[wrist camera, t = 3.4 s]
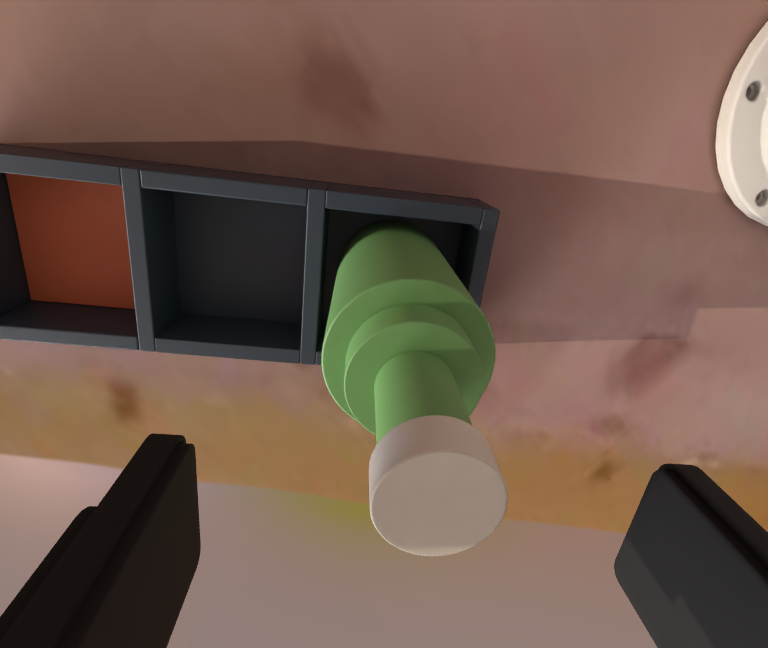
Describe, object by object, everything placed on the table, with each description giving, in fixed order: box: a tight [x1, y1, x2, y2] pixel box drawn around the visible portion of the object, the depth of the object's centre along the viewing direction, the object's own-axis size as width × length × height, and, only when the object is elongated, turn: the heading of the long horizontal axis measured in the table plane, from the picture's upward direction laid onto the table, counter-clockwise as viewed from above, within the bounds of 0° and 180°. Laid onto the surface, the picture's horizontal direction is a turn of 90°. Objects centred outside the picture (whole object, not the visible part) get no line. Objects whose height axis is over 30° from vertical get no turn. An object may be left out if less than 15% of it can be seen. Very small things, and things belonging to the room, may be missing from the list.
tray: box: [0, 144, 500, 365], centre depth 23 cm, size 25×9×4 cm, turn 83°
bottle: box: [321, 220, 508, 556], centre depth 17 cm, size 6×6×17 cm
